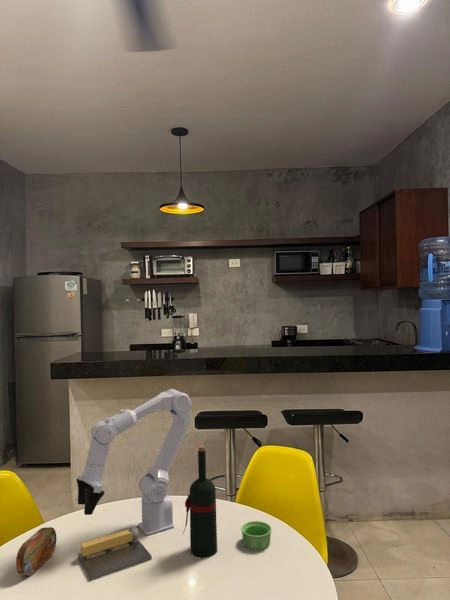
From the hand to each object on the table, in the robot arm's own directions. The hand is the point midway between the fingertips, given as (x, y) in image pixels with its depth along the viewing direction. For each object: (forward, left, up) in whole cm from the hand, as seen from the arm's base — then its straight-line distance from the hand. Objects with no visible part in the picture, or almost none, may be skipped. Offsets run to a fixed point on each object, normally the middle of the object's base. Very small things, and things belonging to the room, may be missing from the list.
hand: (84, 509), depth 131 cm
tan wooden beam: (-6, +7, -9) cm, 13 cm away
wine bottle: (-27, +21, -11) cm, 36 cm away
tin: (+14, +2, -11) cm, 18 cm away
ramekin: (-43, +27, -11) cm, 52 cm away
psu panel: (-5, +11, -11) cm, 16 cm away
